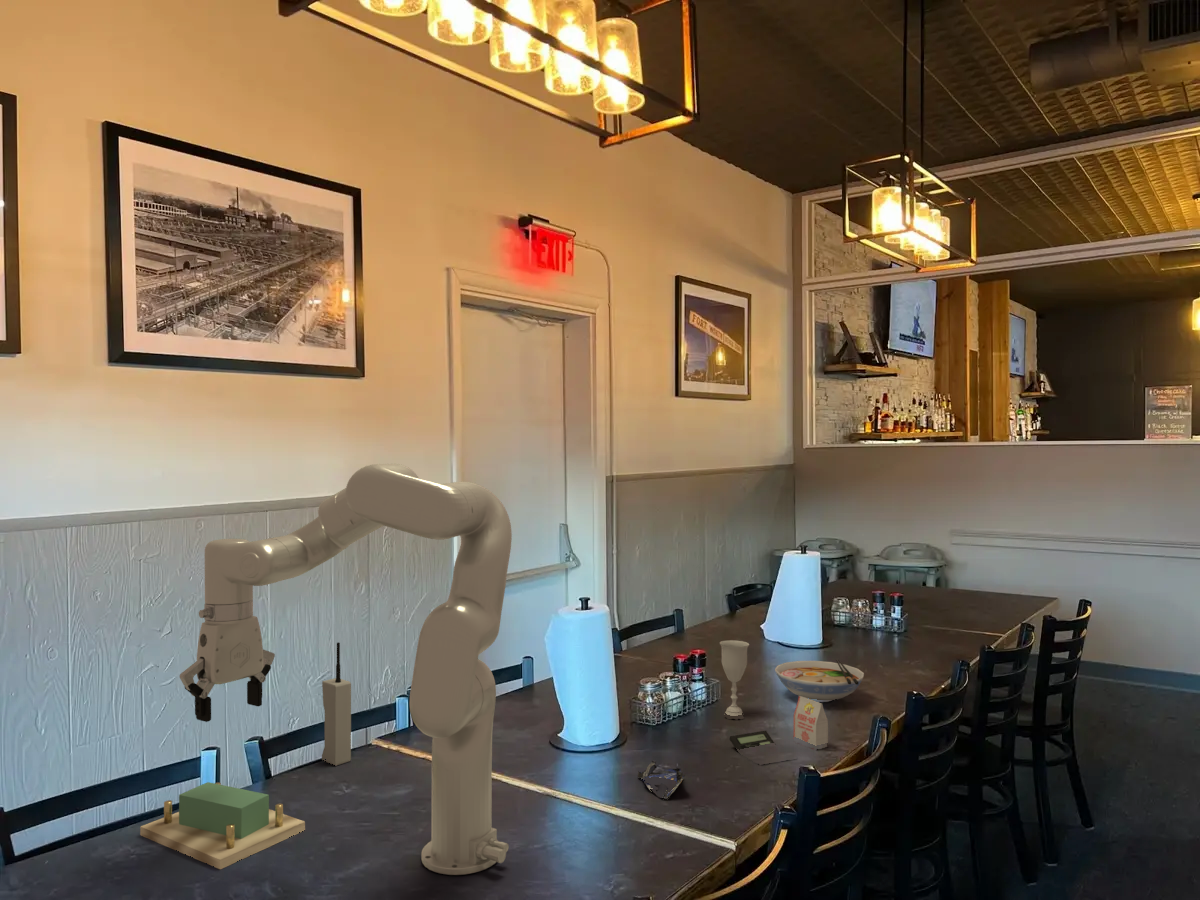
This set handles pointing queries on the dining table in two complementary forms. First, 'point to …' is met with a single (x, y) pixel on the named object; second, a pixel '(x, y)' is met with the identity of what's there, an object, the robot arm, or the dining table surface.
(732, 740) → the calculator
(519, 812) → the dining table surface
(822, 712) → the paper takeout bag
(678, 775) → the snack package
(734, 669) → the chalice
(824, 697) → the ramen bowl
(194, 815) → the olive green box
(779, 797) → the dining table surface
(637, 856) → the dining table surface
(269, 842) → the chassis plate
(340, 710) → the vintage mobile phone
